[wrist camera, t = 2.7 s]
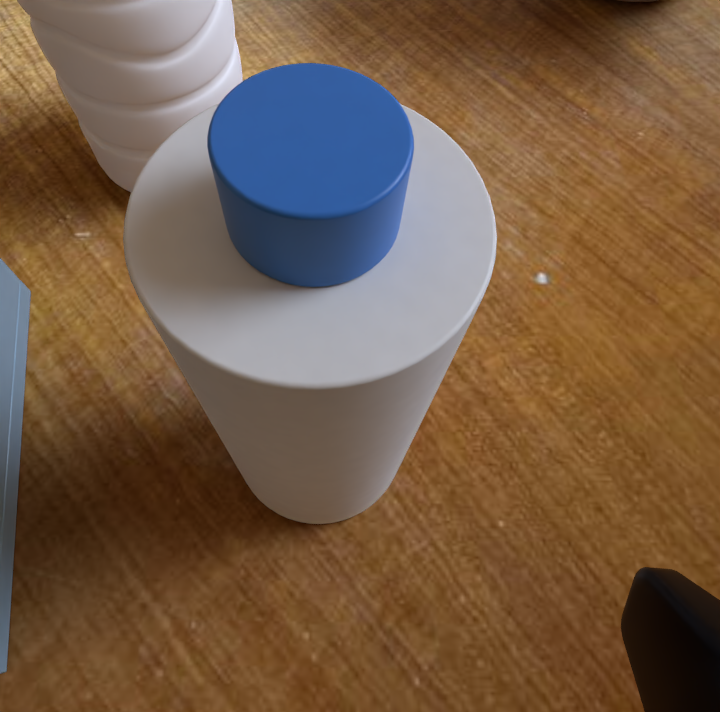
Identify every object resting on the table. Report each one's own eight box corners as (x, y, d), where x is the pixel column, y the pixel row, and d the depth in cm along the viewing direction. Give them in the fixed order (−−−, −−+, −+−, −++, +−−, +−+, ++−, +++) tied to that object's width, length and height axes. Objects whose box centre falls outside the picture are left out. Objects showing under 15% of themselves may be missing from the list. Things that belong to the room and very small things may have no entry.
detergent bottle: (417, 508, 19) (596, 297, 6) (245, 538, 18) (72, 368, 6) (384, 354, 21) (470, -22, 9) (229, 376, 20) (82, 0, 8)
